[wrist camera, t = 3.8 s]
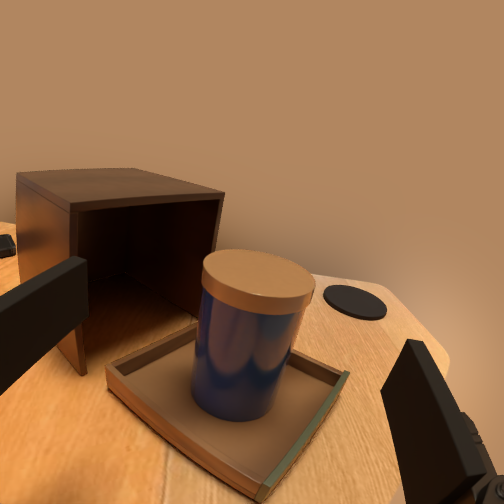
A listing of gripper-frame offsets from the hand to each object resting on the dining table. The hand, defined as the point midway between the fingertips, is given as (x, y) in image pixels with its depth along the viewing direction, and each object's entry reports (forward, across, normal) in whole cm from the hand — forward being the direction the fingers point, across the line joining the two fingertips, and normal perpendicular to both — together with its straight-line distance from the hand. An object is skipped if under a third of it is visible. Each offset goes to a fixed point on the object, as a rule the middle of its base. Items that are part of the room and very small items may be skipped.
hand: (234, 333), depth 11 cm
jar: (+10, 0, -12) cm, 16 cm away
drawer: (+10, 0, -13) cm, 17 cm away
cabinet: (+17, -16, -13) cm, 27 cm away
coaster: (+36, +15, -13) cm, 42 cm away
